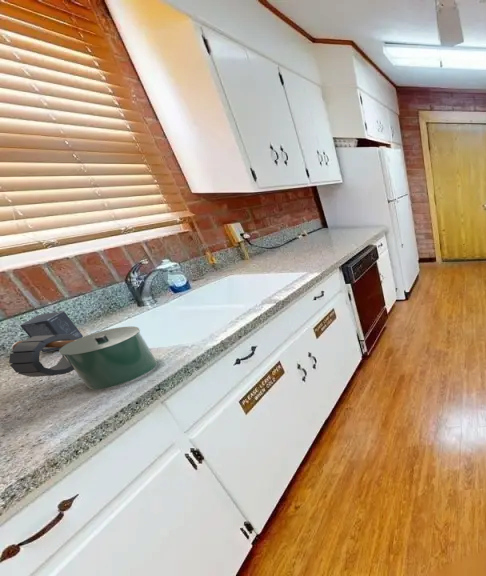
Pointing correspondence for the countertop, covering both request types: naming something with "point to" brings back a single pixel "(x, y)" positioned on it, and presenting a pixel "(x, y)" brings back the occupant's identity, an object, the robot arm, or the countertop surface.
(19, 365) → the tire
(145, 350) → the saucepan
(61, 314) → the box
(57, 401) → the countertop surface
